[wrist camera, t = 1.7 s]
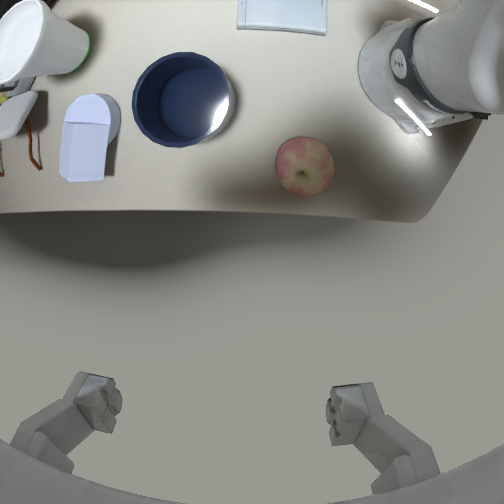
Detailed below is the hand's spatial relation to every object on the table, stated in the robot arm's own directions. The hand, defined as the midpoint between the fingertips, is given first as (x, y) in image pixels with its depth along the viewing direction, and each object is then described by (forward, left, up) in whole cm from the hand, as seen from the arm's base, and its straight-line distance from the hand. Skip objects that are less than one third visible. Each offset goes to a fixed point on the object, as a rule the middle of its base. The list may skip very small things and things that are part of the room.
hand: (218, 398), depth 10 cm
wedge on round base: (+22, -14, -36) cm, 45 cm away
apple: (-8, -2, -36) cm, 37 cm away
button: (+37, -19, -26) cm, 49 cm away
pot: (+5, -13, -36) cm, 39 cm away
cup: (+24, -30, -36) cm, 53 cm away
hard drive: (-10, -26, -36) cm, 45 cm away
